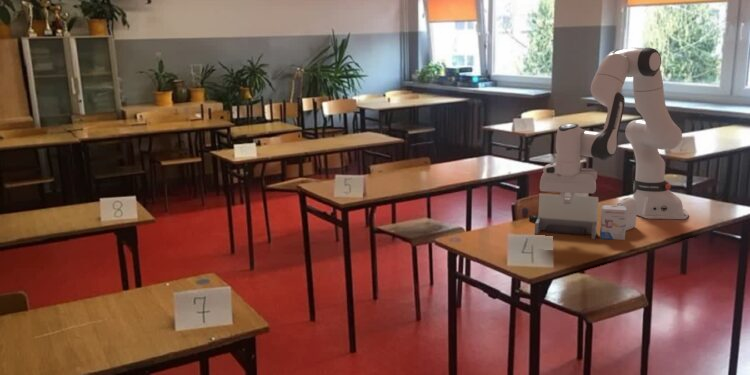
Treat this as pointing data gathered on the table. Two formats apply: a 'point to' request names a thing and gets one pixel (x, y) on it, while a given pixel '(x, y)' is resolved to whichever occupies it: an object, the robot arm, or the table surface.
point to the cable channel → (544, 222)
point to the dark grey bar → (566, 229)
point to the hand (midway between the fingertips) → (567, 203)
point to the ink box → (613, 222)
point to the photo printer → (629, 211)
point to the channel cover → (568, 208)
